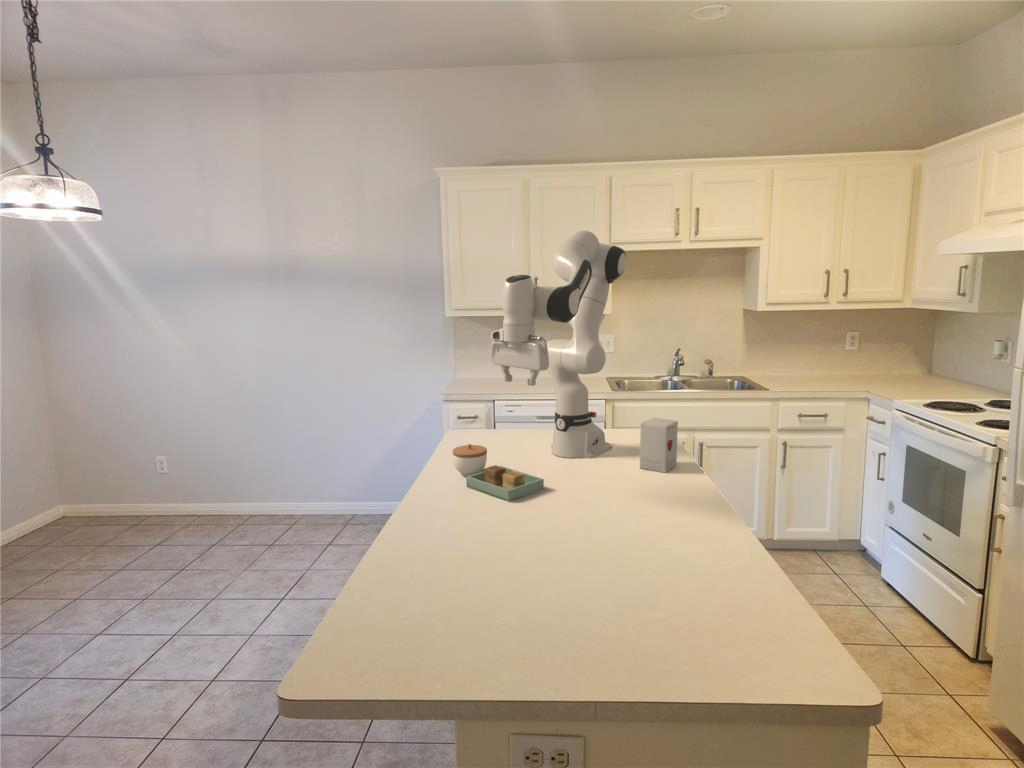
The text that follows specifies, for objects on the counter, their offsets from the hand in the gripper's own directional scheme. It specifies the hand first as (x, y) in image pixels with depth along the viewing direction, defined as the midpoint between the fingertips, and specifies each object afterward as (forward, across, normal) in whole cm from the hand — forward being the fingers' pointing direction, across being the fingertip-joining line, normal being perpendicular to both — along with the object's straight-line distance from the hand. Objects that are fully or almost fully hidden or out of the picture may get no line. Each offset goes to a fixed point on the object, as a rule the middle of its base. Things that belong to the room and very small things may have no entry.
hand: (519, 383), depth 183 cm
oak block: (+30, 0, +3) cm, 31 cm away
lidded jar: (+31, +22, +1) cm, 38 cm away
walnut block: (+30, +8, +3) cm, 32 cm away
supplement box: (+31, -17, -44) cm, 57 cm away
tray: (+31, +4, +3) cm, 31 cm away
